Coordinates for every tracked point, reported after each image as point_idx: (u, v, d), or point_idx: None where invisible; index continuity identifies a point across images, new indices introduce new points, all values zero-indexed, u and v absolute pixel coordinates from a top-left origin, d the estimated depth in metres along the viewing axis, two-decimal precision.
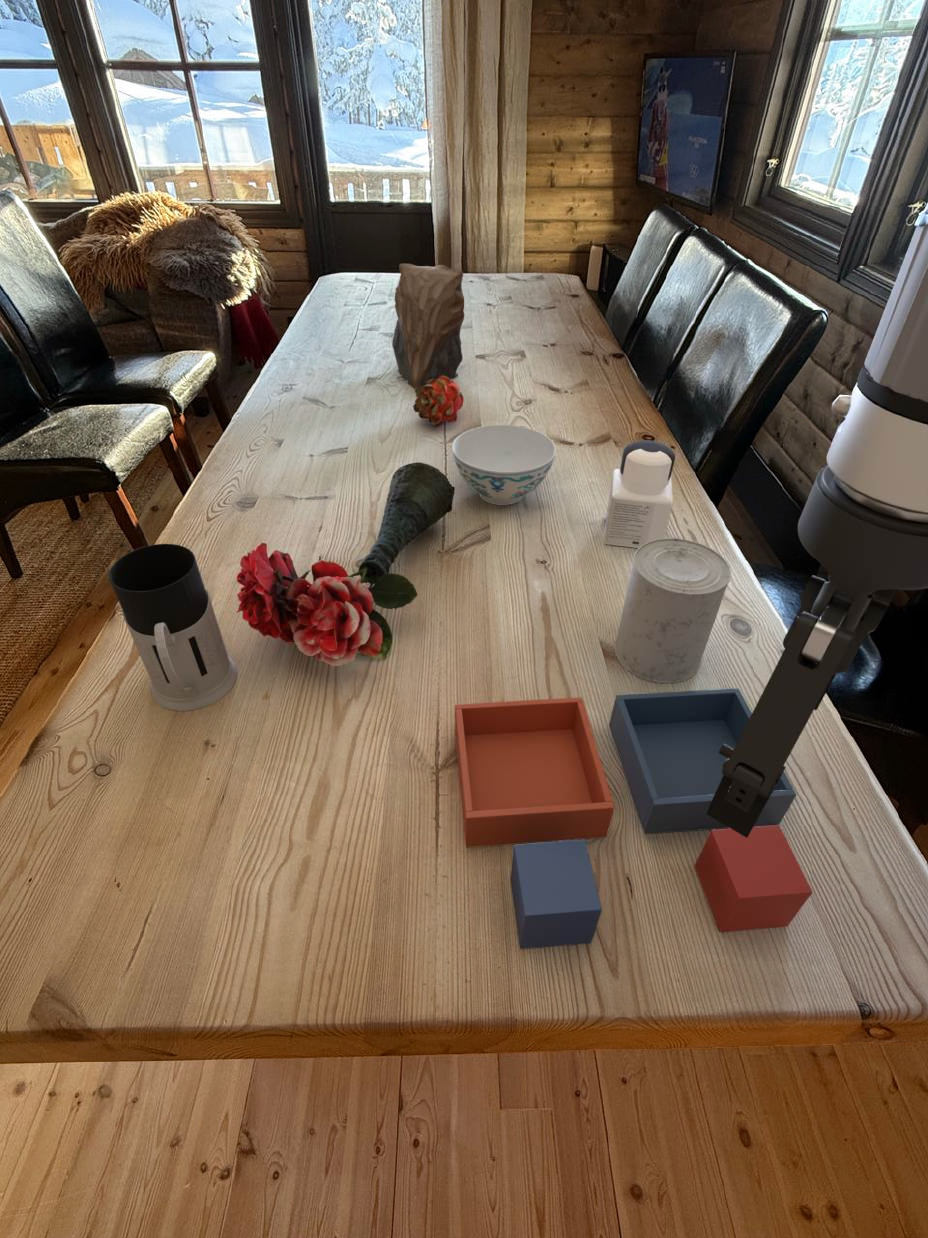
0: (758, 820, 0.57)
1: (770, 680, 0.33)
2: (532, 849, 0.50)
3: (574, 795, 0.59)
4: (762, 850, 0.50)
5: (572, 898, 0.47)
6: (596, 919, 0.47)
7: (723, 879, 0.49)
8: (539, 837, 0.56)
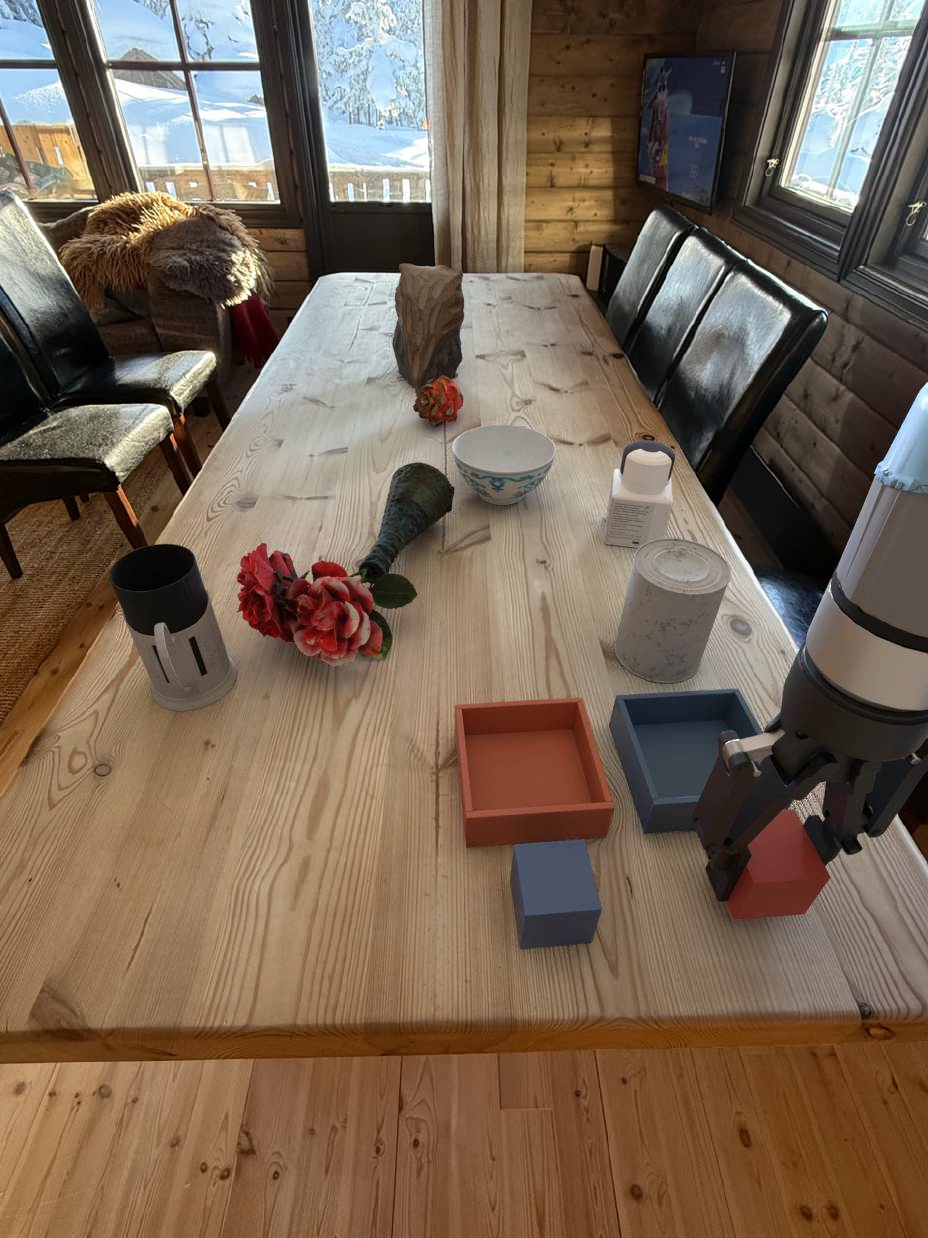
0: None
1: (713, 769, 0.43)
2: (532, 849, 0.50)
3: (574, 795, 0.59)
4: (777, 834, 0.48)
5: (572, 898, 0.47)
6: (596, 919, 0.47)
7: None
8: (539, 837, 0.56)
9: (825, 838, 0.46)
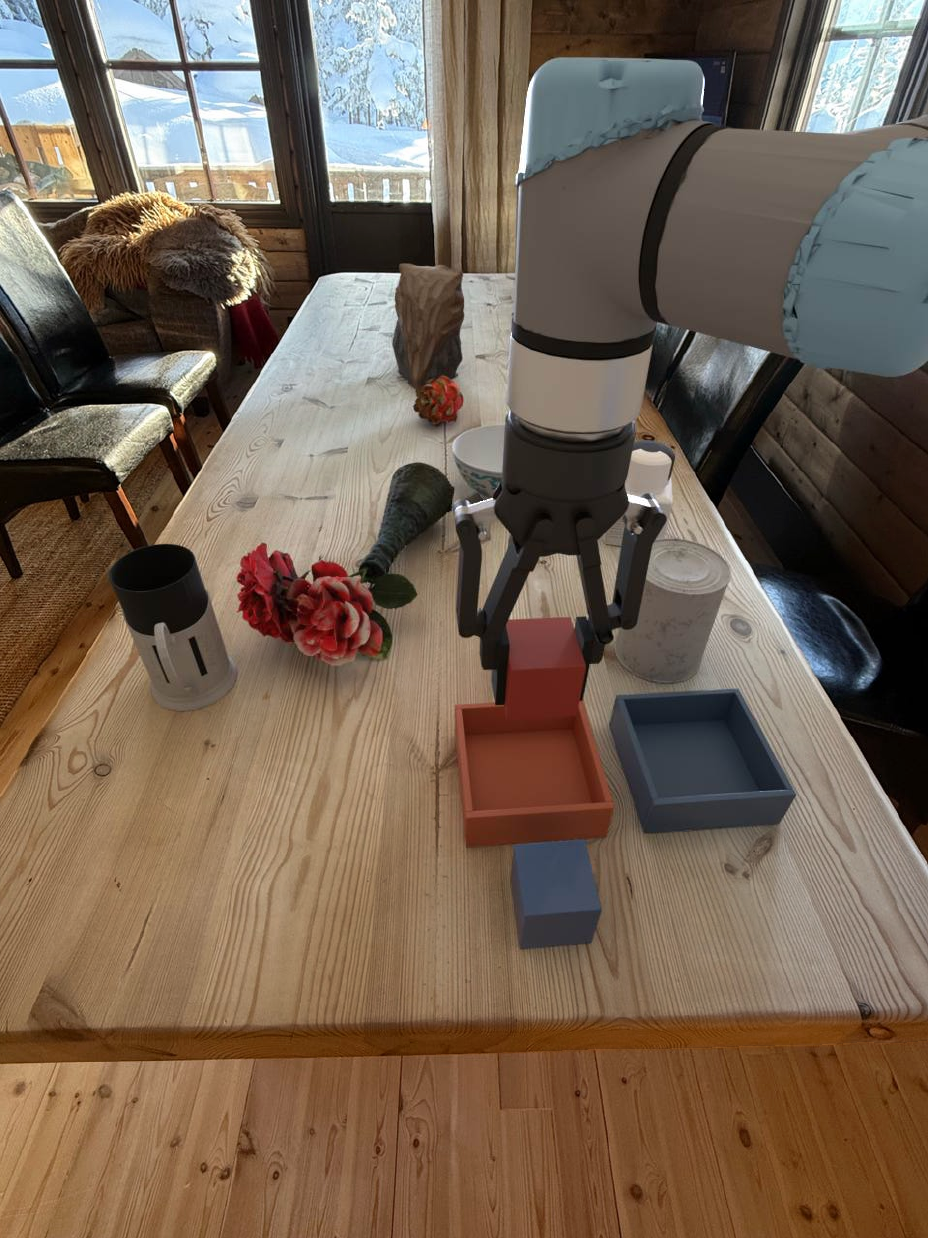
0: (758, 820, 0.57)
1: None
2: (532, 849, 0.50)
3: (574, 795, 0.59)
4: (547, 635, 0.50)
5: (572, 898, 0.47)
6: (596, 919, 0.47)
7: None
8: (539, 837, 0.56)
9: (585, 633, 0.48)
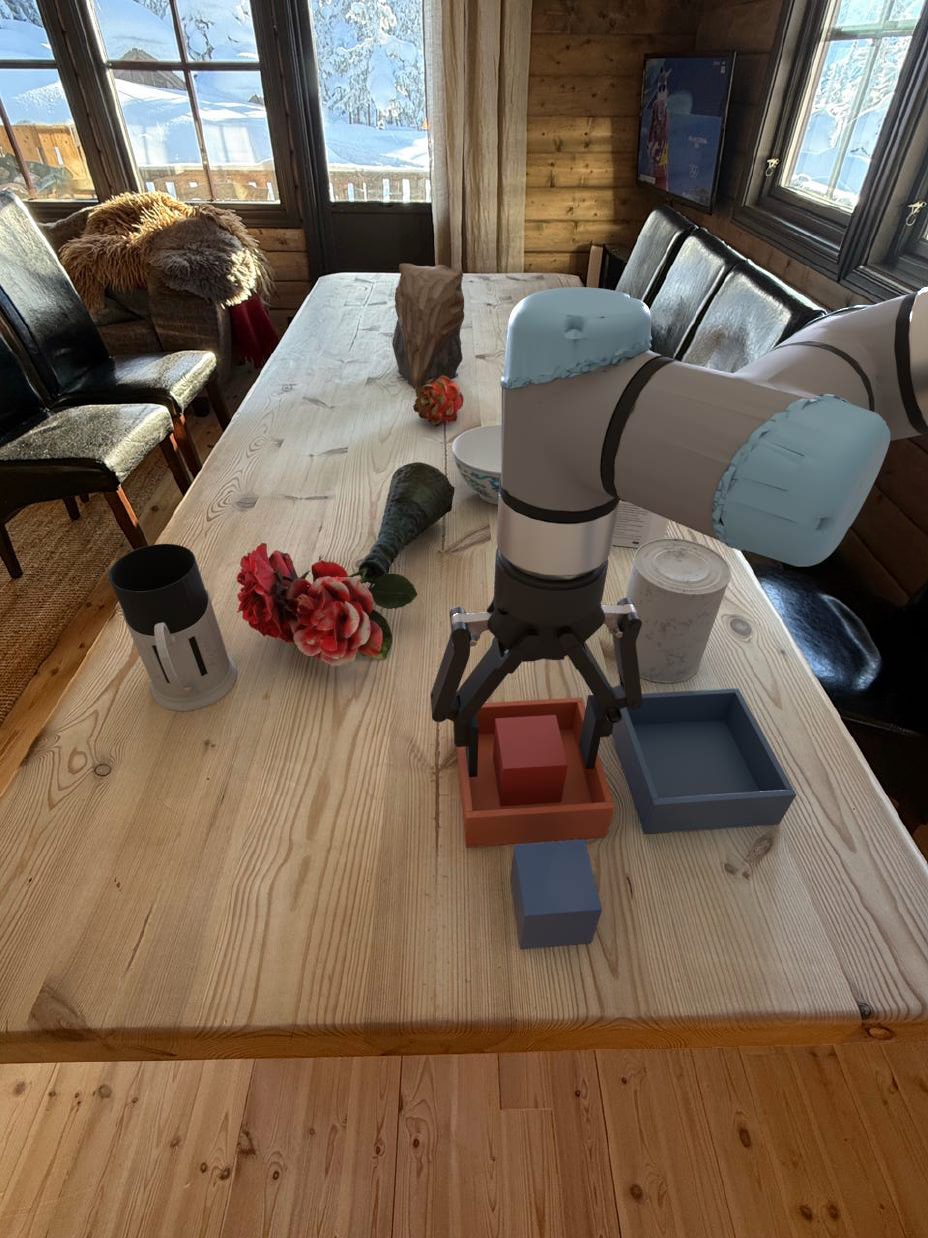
0: (758, 820, 0.57)
1: None
2: (532, 849, 0.50)
3: (574, 795, 0.59)
4: (534, 733, 0.58)
5: (572, 898, 0.47)
6: (596, 919, 0.47)
7: (499, 757, 0.57)
8: (539, 837, 0.56)
9: (596, 711, 0.54)
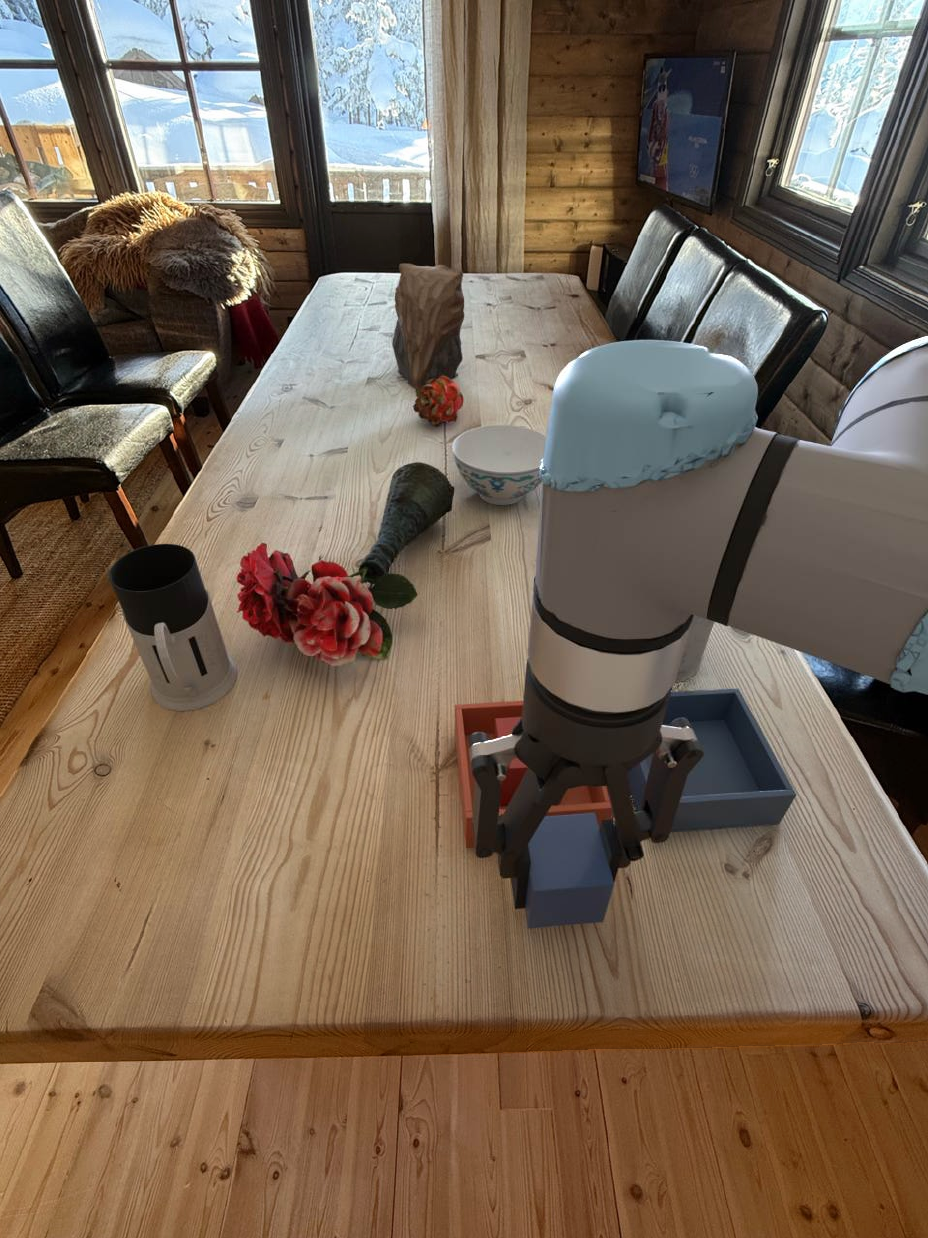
0: (758, 820, 0.57)
1: None
2: None
3: (574, 795, 0.59)
4: None
5: (582, 873, 0.44)
6: (608, 895, 0.45)
7: None
8: None
9: (612, 843, 0.45)
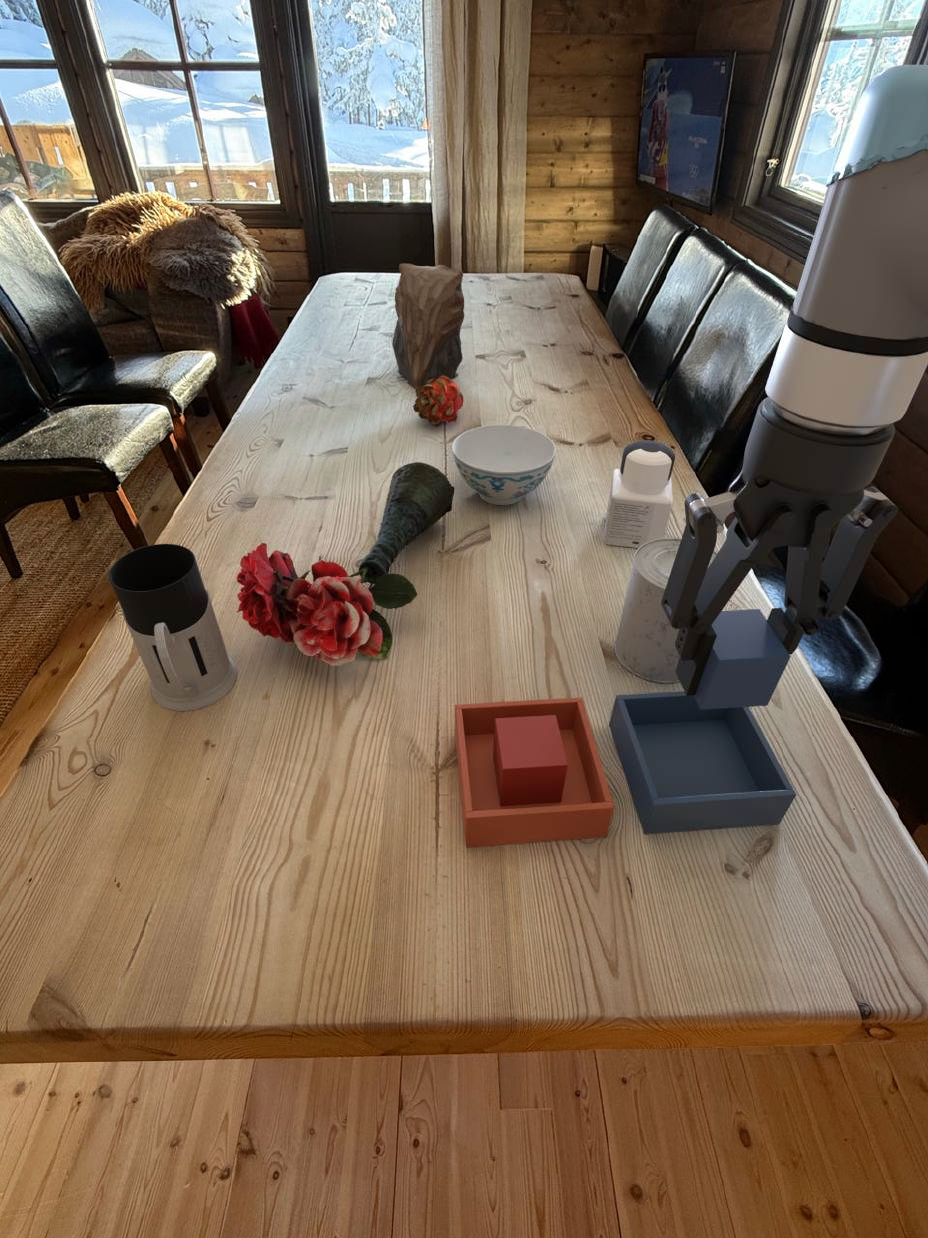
0: (758, 820, 0.57)
1: (680, 542, 0.46)
2: None
3: (574, 795, 0.59)
4: (534, 733, 0.58)
5: (760, 648, 0.49)
6: (781, 670, 0.50)
7: (499, 757, 0.57)
8: (539, 837, 0.56)
9: (786, 624, 0.49)
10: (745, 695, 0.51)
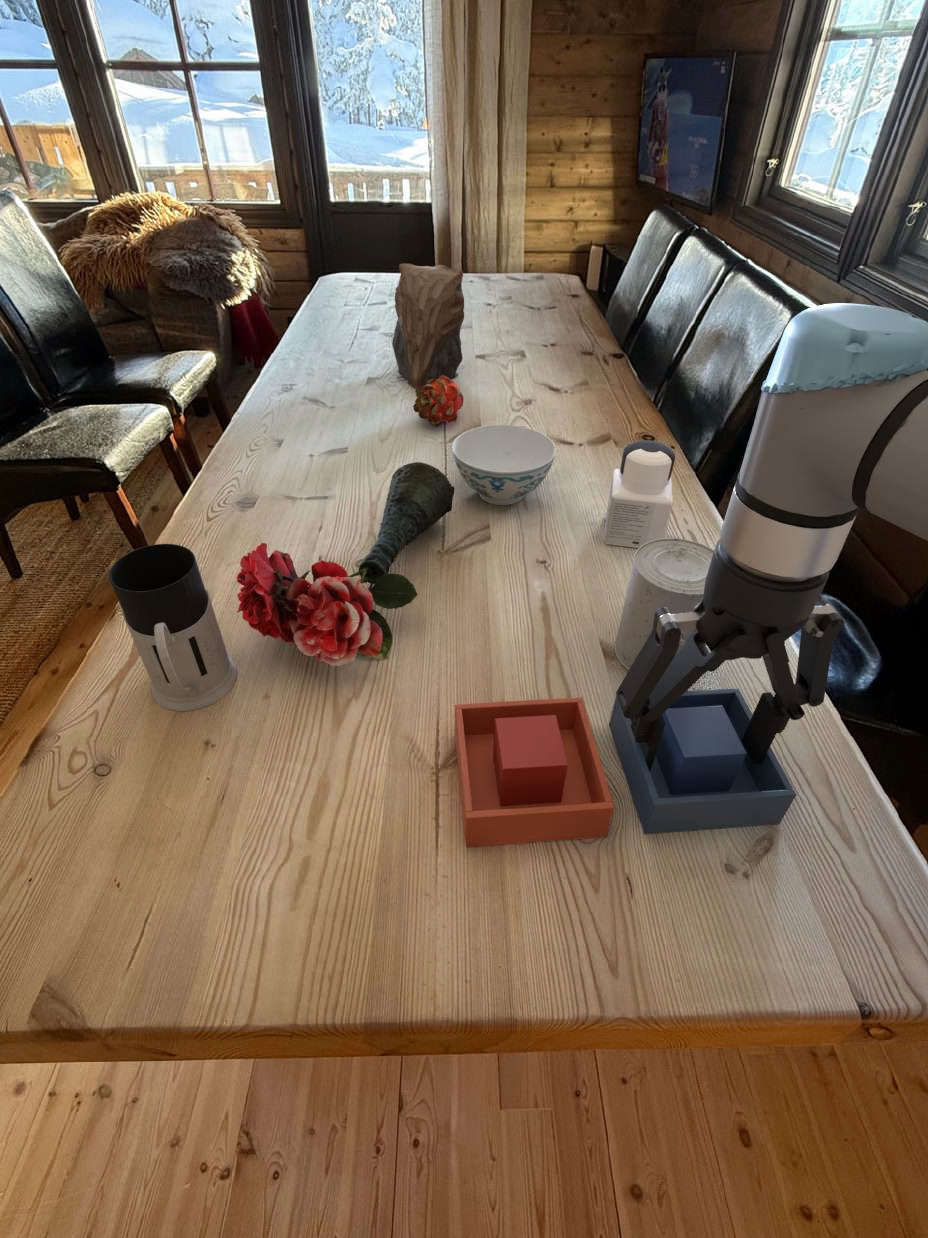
0: (758, 820, 0.57)
1: (644, 644, 0.52)
2: (680, 712, 0.60)
3: (574, 795, 0.59)
4: (534, 733, 0.58)
5: (720, 746, 0.57)
6: (739, 764, 0.57)
7: (499, 757, 0.57)
8: (539, 837, 0.56)
9: (775, 708, 0.56)
10: (709, 783, 0.59)
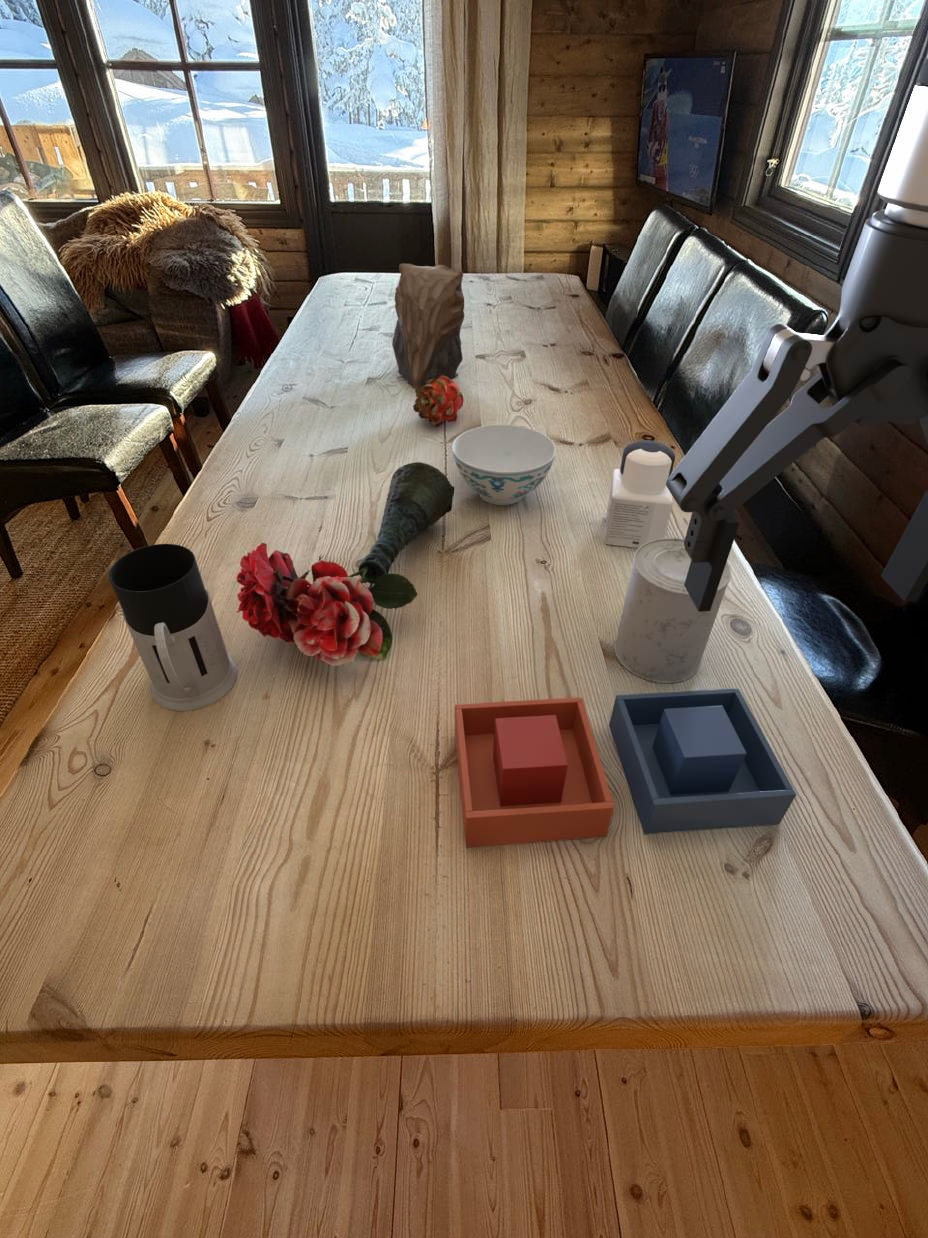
0: (758, 820, 0.57)
1: (732, 394, 0.35)
2: (680, 712, 0.60)
3: (574, 795, 0.59)
4: (534, 733, 0.58)
5: (720, 746, 0.57)
6: (739, 764, 0.57)
7: (499, 757, 0.57)
8: (539, 837, 0.56)
9: None
10: (709, 783, 0.59)
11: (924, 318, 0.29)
